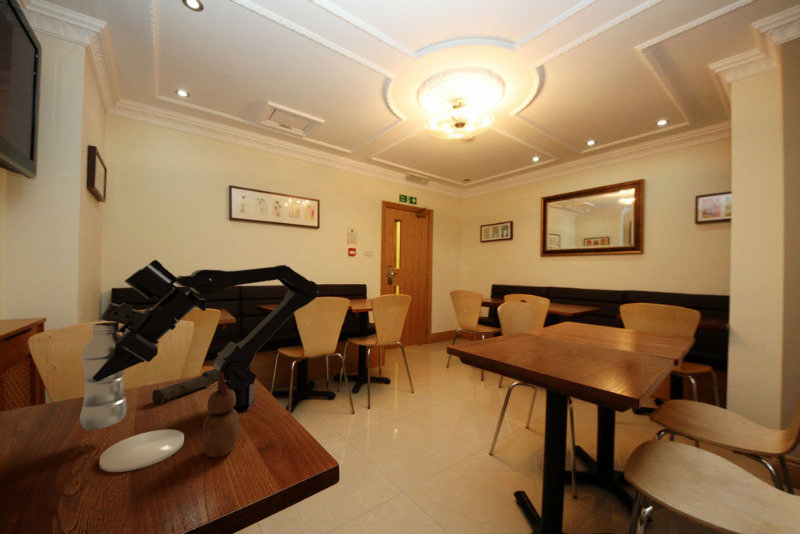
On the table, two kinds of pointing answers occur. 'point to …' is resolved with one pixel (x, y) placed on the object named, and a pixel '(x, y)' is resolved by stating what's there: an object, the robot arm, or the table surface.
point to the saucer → (141, 450)
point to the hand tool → (184, 387)
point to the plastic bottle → (102, 381)
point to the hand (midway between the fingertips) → (95, 375)
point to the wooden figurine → (221, 421)
